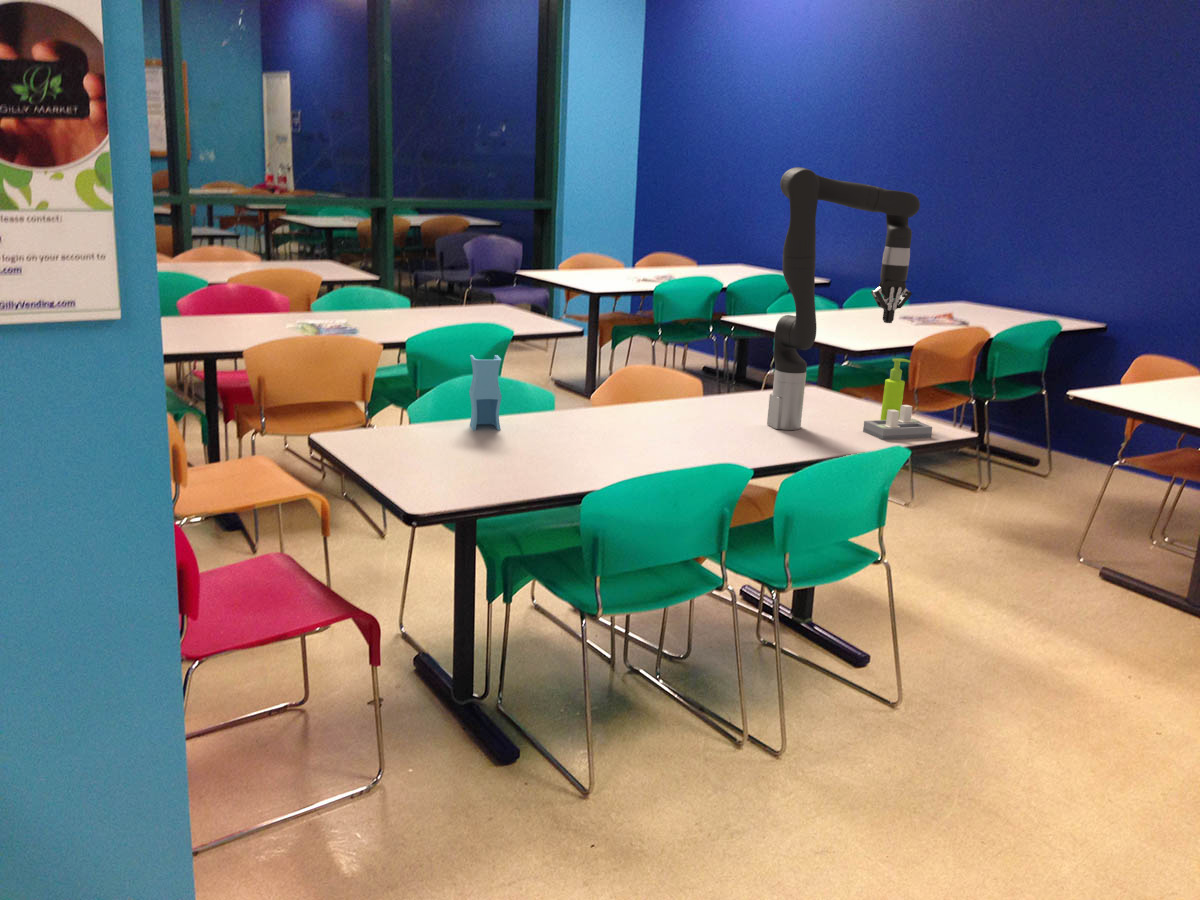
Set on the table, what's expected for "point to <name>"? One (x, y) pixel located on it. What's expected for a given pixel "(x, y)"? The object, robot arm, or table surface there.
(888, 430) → the switch bank
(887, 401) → the soap dispenser
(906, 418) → the tab
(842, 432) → the table surface
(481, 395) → the notched blue pillar
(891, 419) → the tab
